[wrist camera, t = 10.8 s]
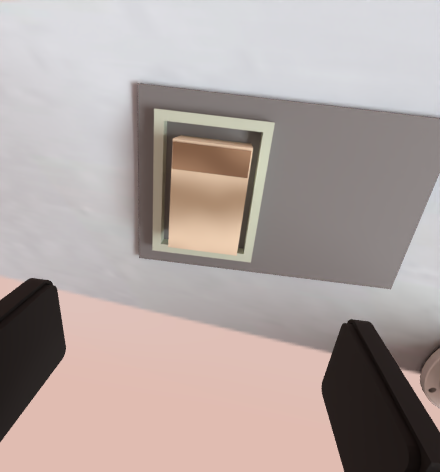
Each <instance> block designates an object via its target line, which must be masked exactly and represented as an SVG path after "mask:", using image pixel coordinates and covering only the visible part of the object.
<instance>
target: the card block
mask: <svg viewBox="0 0 440 472" xmlns="http://www.w3.org/2000/svg"><path fill="white" fill-rule="evenodd" d="M252 153H253V147H252V144H249V143H241V142H233V141H225V140H216V139H208V138H200V137H192V136H184V135H181V136H178V137H175V138H173V145H172V168H171V192H170V215H169V239H168V247H172V248H180V249H188V250H196V251H203V252H211V253H219V254H227V255H235V256H237V250H238V244H239V237H240V231H241V224H242V218H243V211H244V205H245V198H246V192H247V185H248V179H249V172H250V166H251V159H252Z"/></svg>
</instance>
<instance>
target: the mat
mask: <svg viewBox="0 0 440 472" xmlns="http://www.w3.org/2000/svg"><path fill="white" fill-rule="evenodd" d="M154 109H164V110H172V111H181V112H190V113H198V114H207V115H215V116H224V117H232V118H241V119H249V120H258V121H266V122H274V123H275V125H274V131H273V137H272V143H271V148H270V154H269V160H268V166H267V172H266V177H265V183H264V189H263V195H262V201H261V206H260V212H259V218H258V224H257V230H256V235H255V241H254V247H253V253H252V259H251V263H250V262H242V261H234V260H226V259H218V258H210V257H202V256H194V255H186V254H178V253H170V252H162V251H154V250H152V244H153V157H154ZM261 134H262V132H256V131H248V130H239V129H231V128H222V127H214V126H205V125H197V124H188V123H180V122H171V121H167V147H166V182H165V216H164V239H169V215H170V192H171V168H172V145H173V138H175V137H178V136H181V135H184V136H192V137H200V138H208V139H216V140H225V141H233V142H241V143H249V144H252V147H253V153H252V159H251V166H250V172H249V179H248V185H247V192H246V198H245V205H244V211H243V218H242V224H241V231H240V237H239V244H238V248H242V249H244V243H245V236H246V230H247V224H248V217H249V211H250V204H251V198H252V192H253V185H254V179H255V173H256V166H257V160H258V153H259V147H260V141H261ZM439 173H440V118H431V117H423V116H414V115H406V114H397V113H388V112H380V111H371V110H363V109H354V108H345V107H337V106H328V105H320V104H311V103H302V102H294V101H285V100H277V99H268V98H259V97H251V96H242V95H233V94H225V93H216V92H208V91H199V90H190V89H182V88H173V87H165V86H156V85H147V84H139V83H138V180H139V258H145V259H153V260H161V261H169V262H177V263H185V264H193V265H201V266H209V267H217V268H225V269H233V270H241V271H249V272H257V273H265V274H273V275H281V276H289V277H297V278H305V279H313V280H321V281H330V282H338V283H346V284H354V285H362V286H370V287H378V288H386V289H391V288H392V285H393V283H394V280H395V278H396V276H397V273H398V271H399V269H400V266H401V264H402V261H403V259H404V257H405V254H406V252H407V249H408V247H409V245H410V242H411V240H412V238H413V235H414V233H415V230H416V228H417V226H418V223H419V221H420V218H421V216H422V214H423V211H424V209H425V207H426V204H427V202H428V199H429V197H430V195H431V192H432V190H433V187H434V185H435V183H436V180H437V178H438V176H439Z"/></svg>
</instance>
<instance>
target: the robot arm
mask: <svg viewBox="0 0 440 472" xmlns="http://www.w3.org/2000/svg"><path fill="white" fill-rule="evenodd" d="M65 350H66V345H65V339H64V332H63V325H62V319H61V312H60V305H59V299H58V292H57V288H56V286H54V285H53V284H52V282H51V281H49V280H43V279H35V278H31V279H28V280H27V281H25V282H24V283H23V284H21V285H20V286H19V287H17V288H16V289H15V290H13V291H12V292H11V293H9V294H8V295H7V296H5V297H4V298H3V299H1V300H0V442H1V440H2V439H3V438H4V436H5V435H6V434H7V432H8V431H9V430H10V428H11V427H12V426H13V424H14V423H15V422H16V420H17V419H18V418H19V416H20V415H21V414H22V412H23V411H24V410H25V408H26V407H27V406H28V404H29V403H30V402H31V400H32V399H33V398H34V396H35V395H36V394H37V392H38V391H39V390H40V388H41V387H42V386H43V384H44V383H45V381H46V380H47V379H48V377H49V376H50V374H51V373H52V372H53V371H54V369H55V368H56V367H57V365H58V364H59V363H60V361H61V360H62V358H63V357H64V354H65ZM420 384H421V387H422V390H423V391H424V393H425V395H426V396H427V398H428V399H429V400H430V401H431V402H432V403H433V404H434V405H435V406H437V407H438V408H440V348H439V349H438V350H436V351H435V352H434V353H433V354H432V355H431V356H430V357H429V359H428V360H427V361H426V363H425V365H424V367H423V368H422V372H421V375H420ZM322 395H323V398H324V402H325V406H326V409H327V412H328V415H329V420H330V423H331V426H332V430H333V434H334V436H335V441H336V444H337V448H338V451H339V454H340V458H341V461H342V465H343V468H344V472H440V432H439V431H438V429H437V427H436V426H435V424H434V422H433V421H432V419H431V417H430V416H429V414H428V413H427V411H426V410H425V408H424V406H423V405H422V403H421V401H420V400H419V398H418V397H417V395H416V393H415V392H414V390H413V389H412V387H411V386H410V384H409V382H408V381H407V379H406V378H405V377H404V375H403V373H402V371H401V370H400V368H399V366H398V365H397V363H396V362H395V360H394V358H393V357H392V355H391V354H390V352H389V350H388V349H387V347H386V346H385V344H384V342H383V341H382V339H381V338H380V336H379V334H378V333H377V331H376V330H375V328H374V326H373V325H372V324H371V323H370V322H368V321H360V320H352V319H351V320H349V321H348V323H343V324H342V326H341V329H340V332H339V335H338V338H337V341H336V344H335V346H334V349H333V352H332V355H331V358H330V361H329V364H328V367H327V370H326V373H325V376H324V379H323V382H322Z"/></svg>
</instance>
